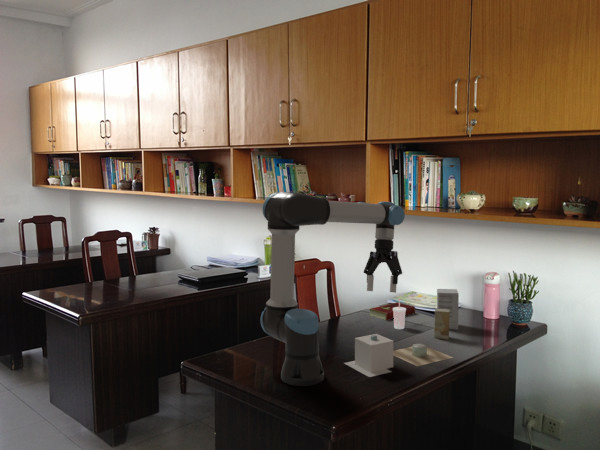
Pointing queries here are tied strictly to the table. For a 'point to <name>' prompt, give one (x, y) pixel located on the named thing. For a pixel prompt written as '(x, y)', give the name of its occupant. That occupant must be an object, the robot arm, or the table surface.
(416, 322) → the table surface
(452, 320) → the supplement box
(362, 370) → the grey mat
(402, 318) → the beverage cup
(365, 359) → the dust cover
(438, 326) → the skincare box
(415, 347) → the pale green cylinder
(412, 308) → the hardcover book
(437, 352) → the birch board
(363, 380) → the table surface
